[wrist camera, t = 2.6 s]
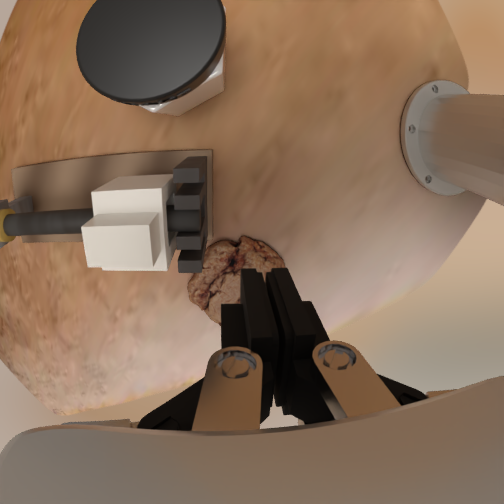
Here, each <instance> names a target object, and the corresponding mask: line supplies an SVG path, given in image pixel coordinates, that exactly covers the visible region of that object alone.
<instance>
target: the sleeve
mask: <svg viewBox="0 0 504 504" xmlns="http://www.w3.org/2000/svg"><path fill="white" fill-rule="evenodd" d="M175 194H176V183H173V174H162V175H140V176H123V177H117V178H115V179H114V180H112V181H110V182H108V183H106V184H104V185H103V186H101V187H99V188H97V189H96V190H94V191H92V192H91V195H92V205H93V213H94V217H93V218H92V219H90V220H89V221H88V222H87V223H85V224H84V225H83V226H82V227H81V230H82V236H83V242H84V248H85V254H86V259H87V264H88V267H102V270H120V271H167V270H168V268H169V265H170V262H171V260H172V257H173V254H174V252H175V249H176V247H177V244H176V236H177V233H178V232H168V229H167V213H166V205H174V195H175Z"/></svg>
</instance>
